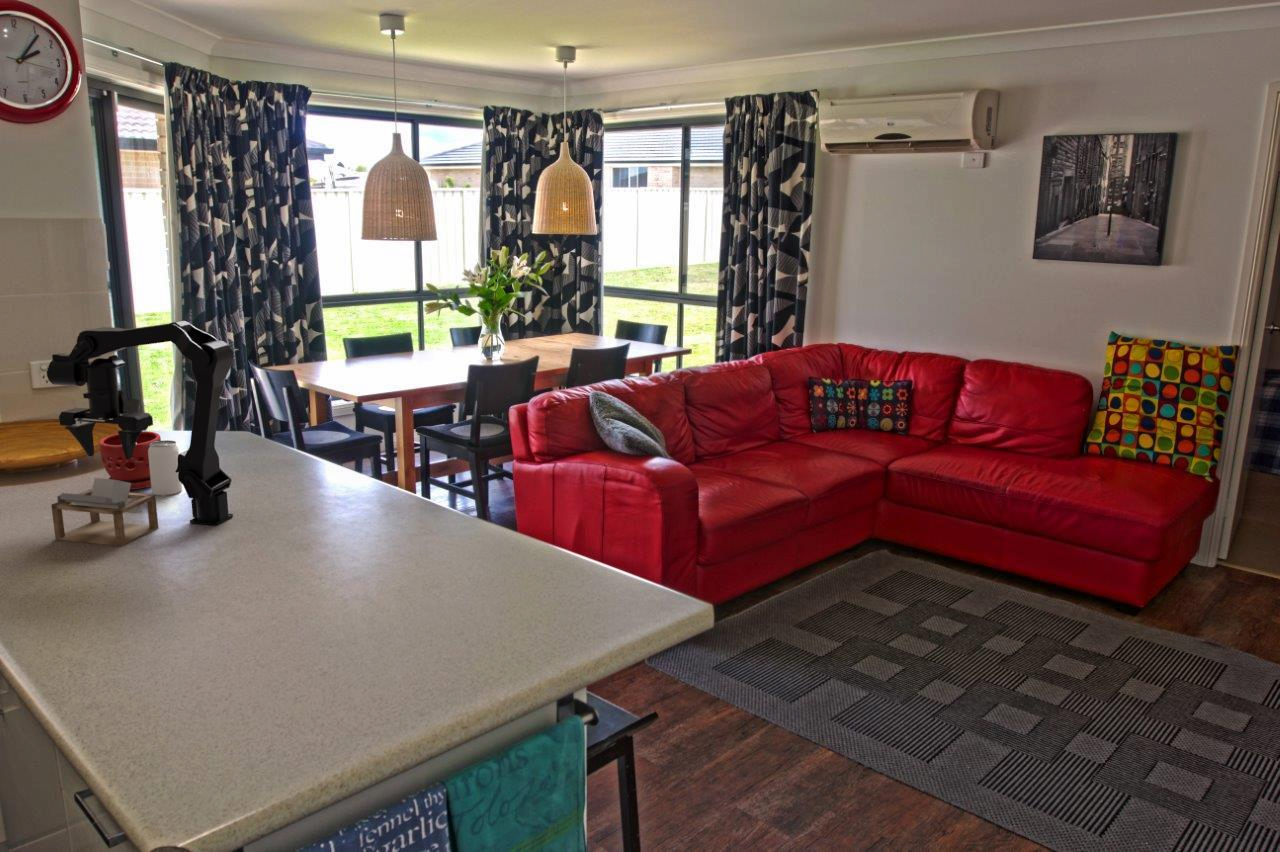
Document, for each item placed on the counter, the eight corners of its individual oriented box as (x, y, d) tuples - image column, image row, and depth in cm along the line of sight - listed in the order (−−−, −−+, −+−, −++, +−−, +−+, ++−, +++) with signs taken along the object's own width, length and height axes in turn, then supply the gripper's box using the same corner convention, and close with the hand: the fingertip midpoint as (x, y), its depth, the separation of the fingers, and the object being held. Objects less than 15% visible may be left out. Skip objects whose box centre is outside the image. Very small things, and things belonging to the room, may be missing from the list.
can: (173, 496, 221) (169, 447, 218) (146, 495, 221) (141, 446, 218) (187, 488, 227) (183, 440, 224) (160, 487, 227) (156, 439, 224)
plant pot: (106, 480, 232) (101, 433, 229) (165, 475, 237) (161, 429, 234) (101, 495, 220) (96, 446, 217) (164, 489, 226) (159, 441, 223)
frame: (158, 528, 200) (154, 488, 198) (121, 546, 189) (117, 504, 187) (95, 522, 202) (90, 482, 200) (55, 539, 192) (50, 498, 190)
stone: (126, 506, 197) (131, 483, 198) (109, 503, 192) (114, 479, 193) (106, 504, 198) (111, 481, 199) (89, 501, 193) (94, 477, 194)
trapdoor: (140, 514, 196) (142, 509, 196) (109, 503, 187) (111, 497, 187) (88, 509, 198) (90, 504, 199) (54, 498, 189) (56, 492, 189)
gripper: (166, 383, 207) (173, 451, 211) (92, 377, 210) (99, 445, 214) (131, 392, 196) (138, 464, 200) (53, 387, 200) (61, 458, 203)
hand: (110, 457), depth 204 cm, fingers open, 9 cm apart
